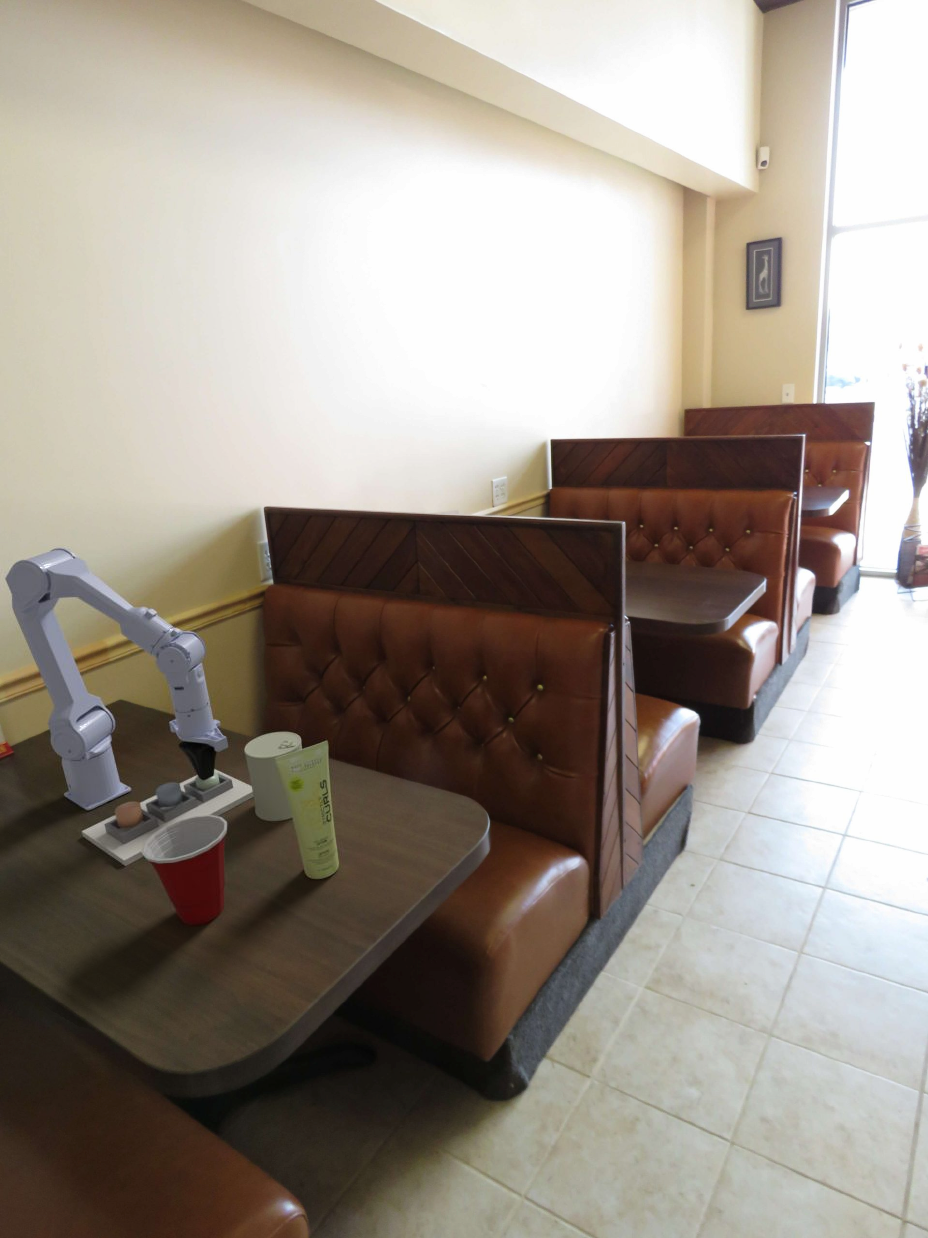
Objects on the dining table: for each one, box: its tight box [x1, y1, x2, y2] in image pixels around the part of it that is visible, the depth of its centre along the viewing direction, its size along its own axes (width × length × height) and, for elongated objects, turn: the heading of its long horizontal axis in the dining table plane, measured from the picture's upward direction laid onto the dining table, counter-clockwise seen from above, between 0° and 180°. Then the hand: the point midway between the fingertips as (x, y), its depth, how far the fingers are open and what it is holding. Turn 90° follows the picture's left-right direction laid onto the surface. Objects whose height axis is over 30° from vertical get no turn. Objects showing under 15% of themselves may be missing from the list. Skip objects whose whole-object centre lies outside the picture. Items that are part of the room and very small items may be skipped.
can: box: [243, 731, 303, 822], centre depth 123 cm, size 9×9×12 cm
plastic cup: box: [141, 815, 228, 926], centre depth 99 cm, size 11×11×12 cm
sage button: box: [195, 772, 220, 792], centre depth 129 cm, size 4×4×2 cm
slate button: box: [155, 781, 183, 807], centre depth 124 cm, size 4×4×2 cm
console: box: [81, 768, 254, 867], centre depth 125 cm, size 14×24×3 cm, turn 141°
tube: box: [275, 740, 340, 880], centre depth 104 cm, size 6×5×20 cm
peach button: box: [114, 800, 143, 828], centre depth 119 cm, size 4×4×2 cm
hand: (206, 777), depth 129 cm, fingers closed, pressing on sage button
